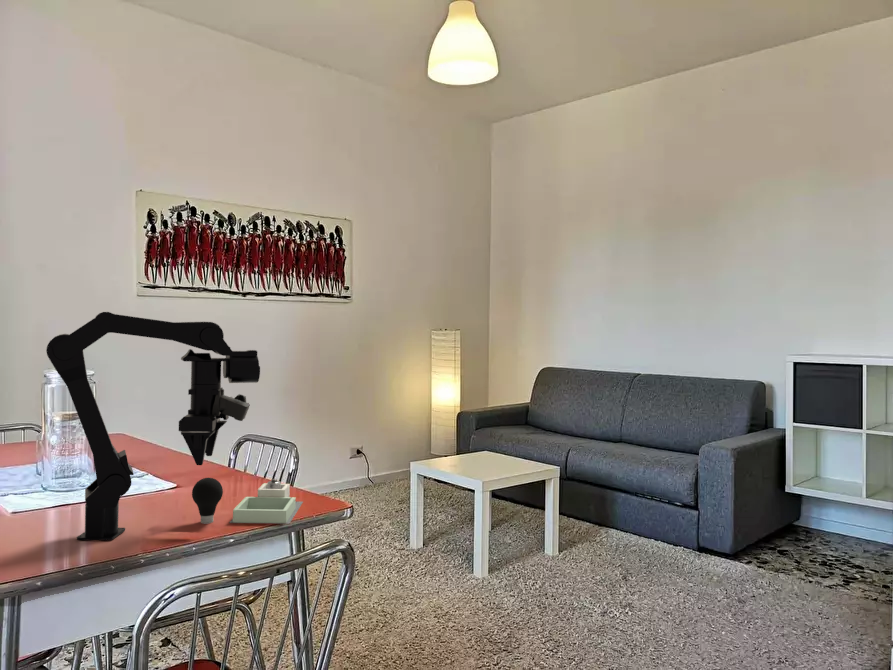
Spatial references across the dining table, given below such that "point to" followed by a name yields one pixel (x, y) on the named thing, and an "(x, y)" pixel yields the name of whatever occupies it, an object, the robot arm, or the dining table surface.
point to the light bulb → (207, 497)
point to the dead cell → (274, 484)
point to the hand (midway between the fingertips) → (204, 460)
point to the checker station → (267, 507)
